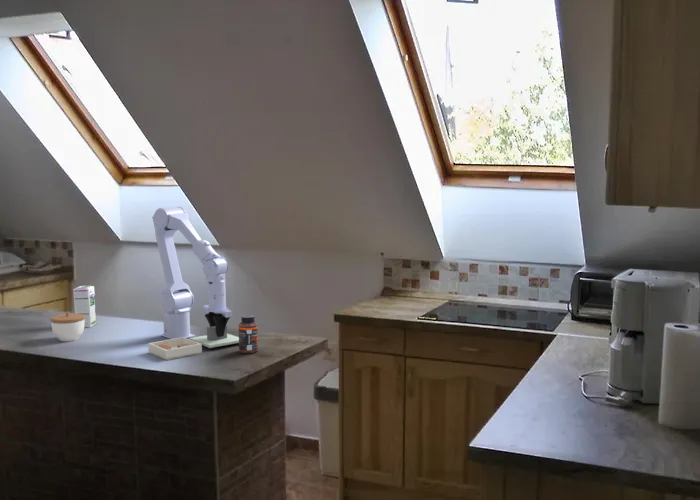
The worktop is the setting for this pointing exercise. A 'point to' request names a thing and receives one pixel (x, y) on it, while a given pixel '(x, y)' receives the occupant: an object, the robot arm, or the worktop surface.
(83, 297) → the syrup box
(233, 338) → the lid
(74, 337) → the lidded jar
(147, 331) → the worktop surface
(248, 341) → the supplement bottle
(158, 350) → the storage box
